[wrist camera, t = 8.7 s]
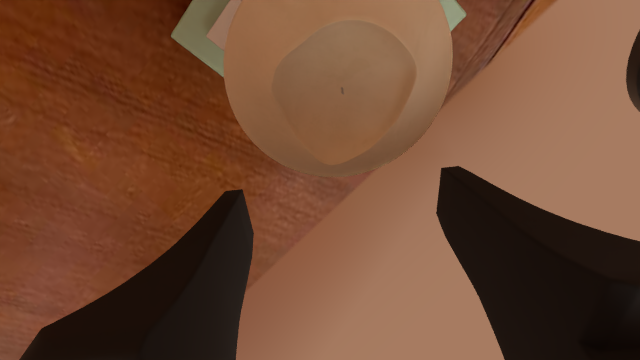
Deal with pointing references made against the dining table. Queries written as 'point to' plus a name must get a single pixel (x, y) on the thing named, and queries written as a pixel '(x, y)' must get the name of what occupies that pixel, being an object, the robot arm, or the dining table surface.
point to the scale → (209, 7)
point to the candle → (337, 79)
